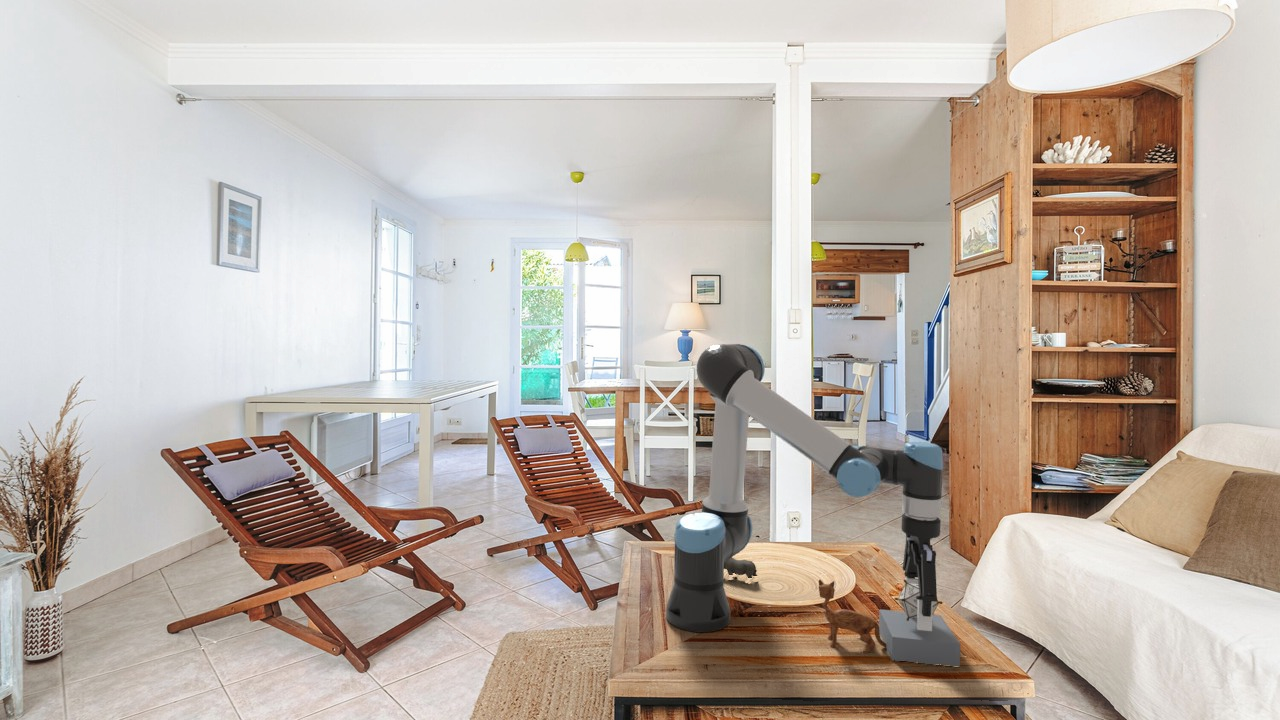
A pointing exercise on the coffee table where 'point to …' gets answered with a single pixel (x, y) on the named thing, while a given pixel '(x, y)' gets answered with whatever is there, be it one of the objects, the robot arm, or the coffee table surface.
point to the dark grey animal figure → (740, 567)
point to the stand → (918, 639)
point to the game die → (912, 599)
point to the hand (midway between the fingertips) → (917, 618)
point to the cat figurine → (848, 620)
